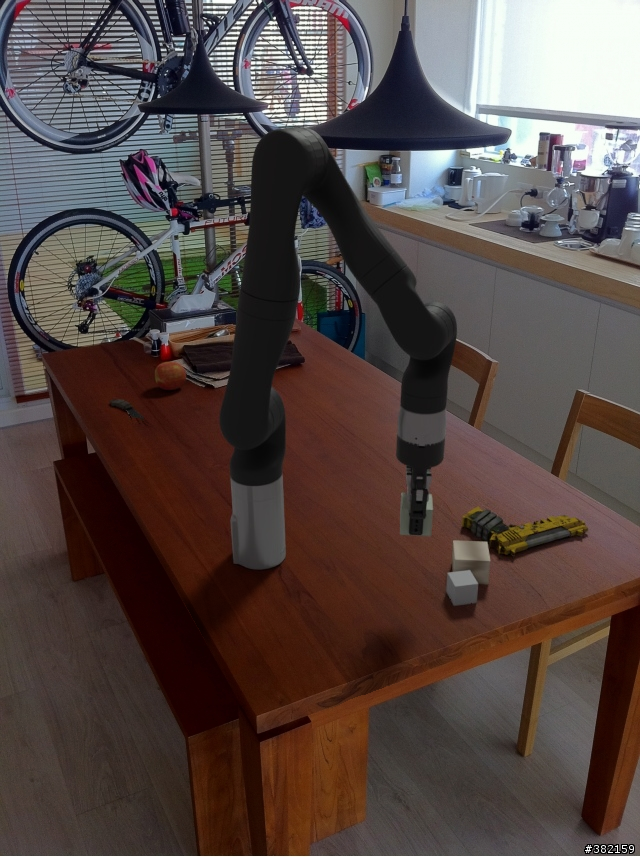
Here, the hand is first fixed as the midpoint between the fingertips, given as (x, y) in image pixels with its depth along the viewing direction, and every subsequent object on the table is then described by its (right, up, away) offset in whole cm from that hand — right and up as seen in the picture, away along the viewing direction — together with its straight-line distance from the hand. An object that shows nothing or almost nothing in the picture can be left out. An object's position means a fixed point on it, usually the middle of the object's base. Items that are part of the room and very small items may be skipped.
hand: (415, 524), depth 130 cm
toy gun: (+24, -4, +24) cm, 34 cm away
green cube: (0, -1, 0) cm, 1 cm away
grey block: (+8, -13, +4) cm, 16 cm away
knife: (-63, +18, +74) cm, 99 cm away
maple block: (+11, -10, +10) cm, 18 cm away
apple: (-58, +27, +93) cm, 112 cm away
